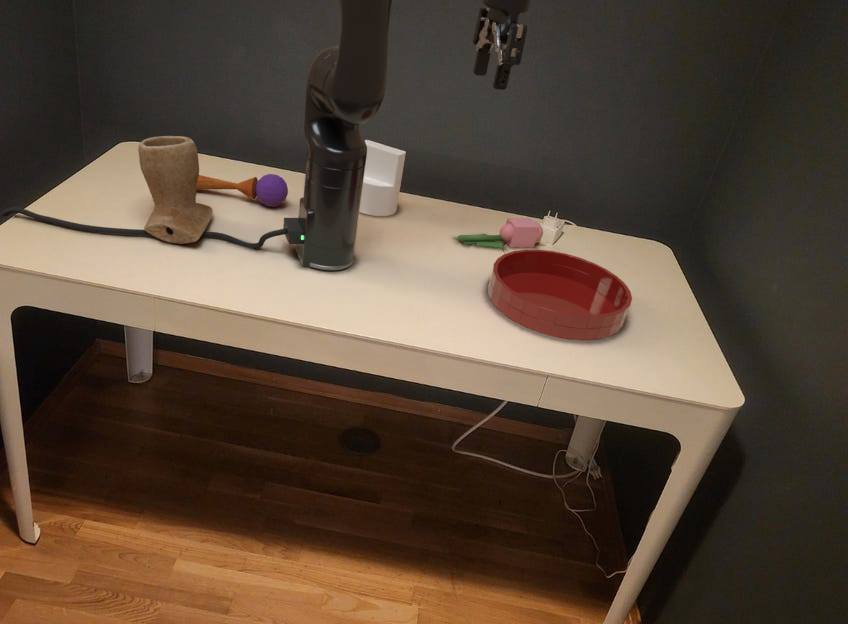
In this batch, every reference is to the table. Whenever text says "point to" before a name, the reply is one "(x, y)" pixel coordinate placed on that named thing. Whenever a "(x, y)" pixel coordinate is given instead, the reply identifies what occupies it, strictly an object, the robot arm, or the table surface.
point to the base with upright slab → (381, 179)
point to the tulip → (508, 235)
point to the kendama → (252, 188)
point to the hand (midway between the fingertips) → (489, 81)
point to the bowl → (559, 294)
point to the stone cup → (173, 188)
